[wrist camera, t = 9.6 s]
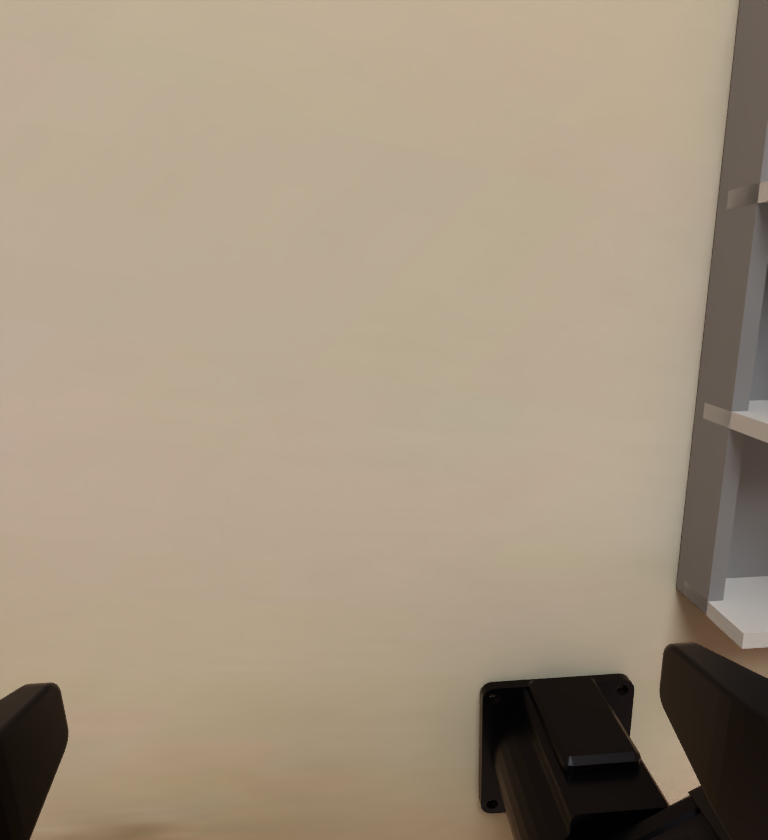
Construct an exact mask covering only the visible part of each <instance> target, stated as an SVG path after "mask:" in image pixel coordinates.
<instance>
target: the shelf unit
mask: <svg viewBox="0 0 768 840" xmlns="http://www.w3.org/2000/svg"><path fill="white" fill-rule="evenodd" d="M676 588H677V589H678V590H679V591H680V592H682V593H683V594H684V595H685V596H686V597H687V598H688V599H689V600H690V601H691V602H692V603H693V604H694V605H695V606H696V607H698V608H699V609H700V610H701V611H702V612H703V613H704V614H705V615H706V616H707V617H708V618H709V619H710V620H711V621H712V622H714V623H715V624H716V625H717V626H718V627H719V628H720V629H721V630H722V631H723V632H724V633H725V634H726V635H727V636H728V637H730V638H731V639H732V640H733V641H734V642H735V643H736V644H737V645H738V646H739V647H740V648H741V649H749V648H764V647H768V0H740V5H739V14H738V23H737V33H736V42H735V51H734V60H733V69H732V79H731V88H730V97H729V106H728V115H727V125H726V134H725V143H724V152H723V162H722V171H721V180H720V189H719V198H718V208H717V217H716V226H715V235H714V244H713V254H712V263H711V272H710V281H709V291H708V300H707V309H706V318H705V327H704V337H703V346H702V355H701V364H700V373H699V383H698V392H697V401H696V410H695V419H694V429H693V438H692V447H691V456H690V466H689V475H688V484H687V493H686V502H685V512H684V521H683V530H682V539H681V548H680V558H679V567H678V576H677V585H676Z"/></svg>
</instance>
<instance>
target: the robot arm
mask: <svg viewBox="0 0 768 840" xmlns="http://www.w3.org/2000/svg"><path fill="white" fill-rule="evenodd" d="M621 685H623V686H622V687H621V688H619V689H617V688H618V687H619V686H621ZM492 694H497V695H496V696H495V697H489V696H490V695H492ZM633 697H634V685H633V684H632V683H631V681H630V680H629V678H628V677H627V676H626V675H624V674H606V675H591V676H576V677H561V678H546V679H531V680H515V681H500V682H490V683H487V684H486V685H484V686H483V687H482V689H481V692H480V757H479V799H480V803H481V808H482V809H483V811H485V812H487V813H502V812H506V813H507V817H508V820H509V823H510V827H511V830H512V834H513V837H514V840H768V679H767V678H765V677H763V676H761V675H759V674H757V673H755V672H753V671H751V670H749V669H747V668H745V667H743V666H741V665H739V664H737V663H735V662H733V661H731V660H729V659H727V658H725V657H723V656H721V655H719V654H717V653H715V652H713V651H711V650H709V649H707V648H705V647H703V646H701V645H699V644H696V643H675V644H669V645H668V646H666V648H665V650H664V653H663V661H662V671H661V680H660V698H661V702H662V705H663V708H664V710H665V712H666V714H667V716H668V718H669V720H670V723H671V725H672V727H673V729H674V731H675V733H676V735H677V737H678V739H679V741H680V743H681V745H682V747H683V749H684V751H685V753H686V755H687V757H688V759H689V761H690V763H691V766H692V768H693V770H694V772H695V774H696V776H697V778H698V780H699V782H700V784H701V786H699V787H697V788H695V789H693V790H691V791H689V792H688V793H689V796H687V797H685V798H683V799H682V800H680V801H678V802H676V803H674V804H672V805H669V804H668V802H667V800H666V799H665V797H664V795H663V794H662V792H661V790H660V789H659V787H658V785H657V784H656V782H655V781H654V779H653V777H652V776H651V774H650V772H649V771H648V769H647V767H646V766H645V764H644V762H643V761H642V759H641V757H640V753H639V752H638V750H637V748H636V747H635V745H634V744H633V742H632V740H631V739H630V729H631V718H632V708H633ZM67 741H68V725H67V720H66V715H65V710H64V705H63V700H62V695H61V691H60V688H59V687H58V685H57V684H55V683H35V684H27V685H24V686H22V687H20V688H19V689H17V690H15V691H14V692H12V693H11V694H9V695H7V696H6V697H4V698H2V699H1V700H0V840H30V838H31V835H32V833H33V830H34V828H35V825H36V822H37V820H38V817H39V815H40V812H41V810H42V807H43V805H44V802H45V800H46V797H47V795H48V792H49V790H50V787H51V785H52V782H53V779H54V777H55V774H56V772H57V769H58V767H59V764H60V762H61V759H62V757H63V754H64V752H65V749H66V746H67ZM489 800H491V801H489Z"/></svg>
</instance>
